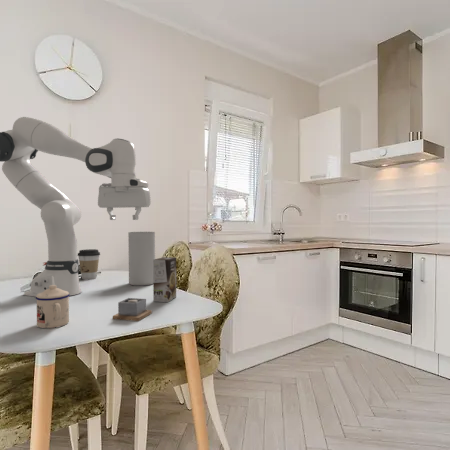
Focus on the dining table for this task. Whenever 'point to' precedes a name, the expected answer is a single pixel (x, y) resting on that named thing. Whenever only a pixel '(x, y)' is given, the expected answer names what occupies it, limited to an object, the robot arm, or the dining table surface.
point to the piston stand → (133, 318)
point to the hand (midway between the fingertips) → (124, 219)
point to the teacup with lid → (52, 308)
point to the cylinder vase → (141, 257)
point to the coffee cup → (88, 263)
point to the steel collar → (131, 307)
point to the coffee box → (164, 279)
